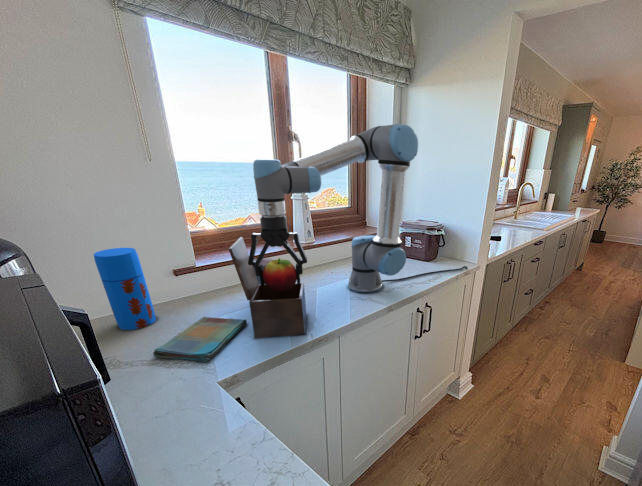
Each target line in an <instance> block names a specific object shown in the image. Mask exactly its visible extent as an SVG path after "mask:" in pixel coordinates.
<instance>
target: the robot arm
mask: <svg viewBox="0 0 642 486" xmlns="http://www.w3.org/2000/svg"><path fill="white" fill-rule="evenodd" d="M417 135H418V134H417V133H416V132H415V130H414V129H413V128H412V127H411V126H410V125H408V124H403V123H402V124H401V123H395V124H386V125H378V126H374V127H370V128H369V129H366V130H365V131H362V132H359V133H358V134H355V135H352V136H351V137H350V139H349V140H348V141H345V142H342V143H338V144H335V145H334V146H331V147H328V148H324V149H322V150H319V151H316V152H314V153H311V154H309V155H306V156H303V157H301V158H298V159H297V158H296V159H295V160H292V161H289V162H286V163H283V164H282V163H281V160H279V159H267V158H266V159H263V158H260V159H259V158H258V159H257V158H256V159H255V160H254V161H253V163H252V166H253V168H252V169H253V179H254V184H255V191H256V199H257V207H258V214H259V215H260V217H259V222H260V229H261V231H260V233H259V232H258V233H256V232H252V233H251V235H250V238H251V245H250V250H249V260H248V265H253V266H254V267H255V271H256V275H257V276H260V282H261V287H264V285H265V283H264V281H263V276H262V275H263V266H262V265H260V262H261V260H262V258H264V256H265V254H266V252H267V251H268V248H269V247H271V248H274V247H279V248H280V247H283V248H284V249H285V250H286V251H287V253H288V254H289V255H290V257H291V258H292V259H293V261H295V269H296V276H297V281H296V283H297V285H300V283H301V277H300V275H303V273H304V271H303V269H304V268H303V264H307V263H308V257H307V255H306V252H305V250H304V248H303V246H302V243H301V241H300V236H299V232H298V231H295V232H290V231H289V230H288V221H287V216H286V202H285V195H288V194H311V193H318V192H319V191H320V189H321V187H322V176H324V175H327V174H329V173H332V172H335V171H337V170H339V169H342V168H344V167H347V166H349V165H352V164H355V163H358V164H362V163H364V162H365V163H366V162H369V161H377V165H378V167H379V169H381V170H380V171H381V174H380V175H381V176H380V177H381V178H380V186H379V187H380V189H379V201H378V203H379V204H378V214H377V215H378V216H377V217H378V218H377V226H376V234H375V235H372V234H369V235H359V236H355V237H353V238H352V240H351V260H352V261H351V265H352V266H351V268H352V269H351V274H350V277H349V279H348V289H349V290H351V291H353V292H354V293H361V294H369V293H375V292H378V291H380V290H382V289H383V283H386V282H399V281H404V280H408V279H413V278H417V277H421V276H426V275H432V274H437V273H438V274H439V273H447V272H455V271H456V272H457V271H461V270H464V269H468V267H467V266H465V265H464V266H462V267H459V268H453V269H451V268H450V269H444V270H443V269H442V270H435V271H429V272H423V273H418V274H415V275H411V276H405V277H402V278H395V279H384V280H383V279H382V277H381V274H382V275H385V276H390V277H392V276H395V275H397V274H399V273H400V272H401V271H402V270H403V268H404V267H405V265H406V261H407V254H406V252H405V250H404V249H403V248H402V245H403V244H402V243H403V241H402V240H401V239H400V237H399V236H400V225H401V215H402V206H403V205H402V204H403V197H404V196H403V195H404V187H405V176H406V172H407V171H408V170H409V169H410V165H411V161H413V160H414V159H415V157H416V156H417V155H418V152H419V138H418V136H417ZM260 238H261V239H262V240H263V241H264V242H265V243H264V245H263V247H262V249H261V250H260V253H259V254H258V257H257V258H256V259H257V260H256V261H254V259H255V257H256V251H257V246H258V242H259V241H260ZM289 238H291V240H292V241H293V242H294V244H295V246H296V249H297V251H298V254H299V255H300V257H299V255H298V254H297V253H296V251H295V250H294V249H293V247H292V246H291V244H290V243H289V242H288V240H289Z"/></svg>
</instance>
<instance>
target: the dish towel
mask: <svg viewBox="0 0 642 486" xmlns="http://www.w3.org/2000/svg"><path fill="white" fill-rule="evenodd" d="M247 324H248V321H247V319H245V318H243V319H242V318H241V319H240V318H224V317H223V318H222V317H211V316H210V317H209V316H202V317H201V318H200V319H198V320H197V321H196V322H194V323H192V324H191V325H189V326H188V327H186V328H185V329H184V330H182V331H181V332H179V333H178V334H176V335H175V336H174V337H172V338H171V339H170V340H168V341H167V342H165V343H164V344H162V345H160V346H159V347H156V348H155V349H154V351H153V352H152V354H153V356H154V357H156V358H158V359H177V360H178V359H179V360H181V359H182V360H188V361H196V362H205V363H207V362H209V361H210V360H211V359H212V358H214V357H215V355H216V354H217V353H218V352H219V351H220V350H221V349H222V348H223V347H224V346H225V345H226V344H227V343H228V342H229V341H230V340H231V339H233V337H234V336H235V335H236V334H238V332H240V331H241V329H243V327H245V326H246V325H247Z"/></svg>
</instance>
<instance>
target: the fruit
mask: <svg viewBox="0 0 642 486" xmlns="http://www.w3.org/2000/svg"><path fill="white" fill-rule="evenodd" d="M262 276H263V281H264V283H265V284H266V286H267V287H268V288H270V289H271V290H273V291H286V290H289V289H291V288H292V287H293V286H294V285H295V283H297V276H296V266H295V265H294V264H293V263H292V262H291V260H289V259H281V258H280V257H279V258H278V259H272V261H270V262H269V263H268V264H267V265H266V266H265V268H264V270H263V275H262Z"/></svg>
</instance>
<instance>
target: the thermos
mask: <svg viewBox="0 0 642 486" xmlns="http://www.w3.org/2000/svg"><path fill="white" fill-rule="evenodd" d="M93 258H94V259H93V260H94V263H95V266H96V268H97V271H98V274H99V277H100V280H101V283H102V285H103V289H104V291H105V295H106V296H107V299H108V300H107V301H108V302H109V306H110V308H111V311H112V314H113V317H114V320H115V321H116V324H117V326H118V328H119V329H121V330H123V331H133V330H138V329H142V328H145V327H148V326H150V325H152V324H153V323H155V322H156V321H157V317H156V313H155V309H154V305H153V302H152V299H151V295H150V292H149V288H148V284H147V281H146V278H145V275H144V271H143V268H142V265H141V261H140V258H139V254H138V253H137V251H136V248H133V247H114V248H108V249H107V248H106V249H102V250H99V251H96V252H94V253H93Z"/></svg>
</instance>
